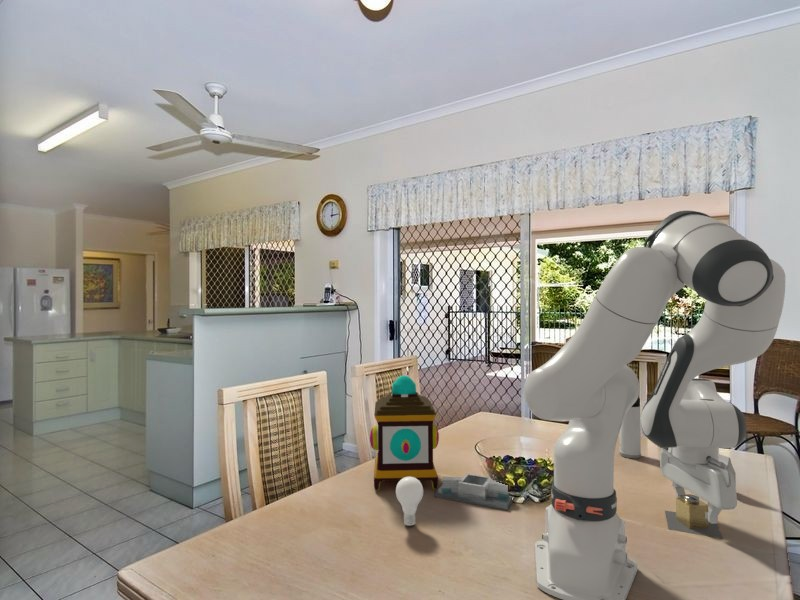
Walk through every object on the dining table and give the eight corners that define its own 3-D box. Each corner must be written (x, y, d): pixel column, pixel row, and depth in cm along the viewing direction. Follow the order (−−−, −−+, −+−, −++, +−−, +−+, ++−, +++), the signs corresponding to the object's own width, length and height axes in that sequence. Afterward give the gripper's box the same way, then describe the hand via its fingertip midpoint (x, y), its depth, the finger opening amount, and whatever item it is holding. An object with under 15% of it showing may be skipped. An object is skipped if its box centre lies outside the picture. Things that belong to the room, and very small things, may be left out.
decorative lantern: (369, 493, 124) (368, 381, 124) (371, 467, 144) (370, 370, 144) (443, 492, 124) (442, 380, 125) (435, 466, 144) (434, 369, 144)
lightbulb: (400, 534, 102) (399, 484, 102) (392, 521, 108) (392, 473, 108) (427, 530, 104) (427, 481, 104) (418, 517, 110) (418, 471, 110)
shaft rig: (507, 510, 113) (507, 492, 113) (434, 496, 121) (434, 480, 121) (515, 495, 122) (515, 478, 122) (447, 483, 130) (447, 467, 130)
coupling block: (708, 527, 102) (708, 500, 102) (689, 528, 102) (689, 501, 102) (694, 518, 106) (694, 492, 106) (676, 519, 106) (675, 493, 106)
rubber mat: (723, 542, 97) (723, 538, 97) (668, 532, 102) (668, 528, 102) (714, 522, 106) (714, 518, 106) (664, 513, 111) (664, 510, 111)
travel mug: (614, 454, 154) (613, 394, 154) (628, 451, 157) (627, 392, 157) (631, 460, 148) (630, 397, 148) (645, 457, 151) (644, 395, 151)
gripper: (745, 465, 93) (746, 534, 93) (679, 436, 114) (680, 493, 113) (715, 466, 93) (716, 535, 93) (654, 437, 113) (655, 494, 113)
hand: (696, 512), depth 103 cm, fingers open, 8 cm apart
